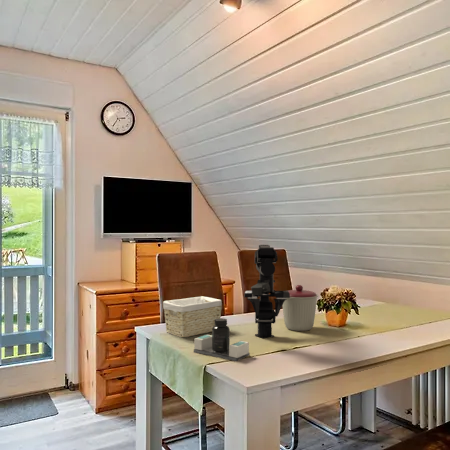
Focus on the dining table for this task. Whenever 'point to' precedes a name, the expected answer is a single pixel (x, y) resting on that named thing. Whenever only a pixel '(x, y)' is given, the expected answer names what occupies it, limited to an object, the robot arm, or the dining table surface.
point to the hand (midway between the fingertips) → (266, 315)
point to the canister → (300, 309)
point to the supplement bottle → (220, 336)
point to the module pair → (234, 349)
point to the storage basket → (191, 315)
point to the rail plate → (219, 354)
